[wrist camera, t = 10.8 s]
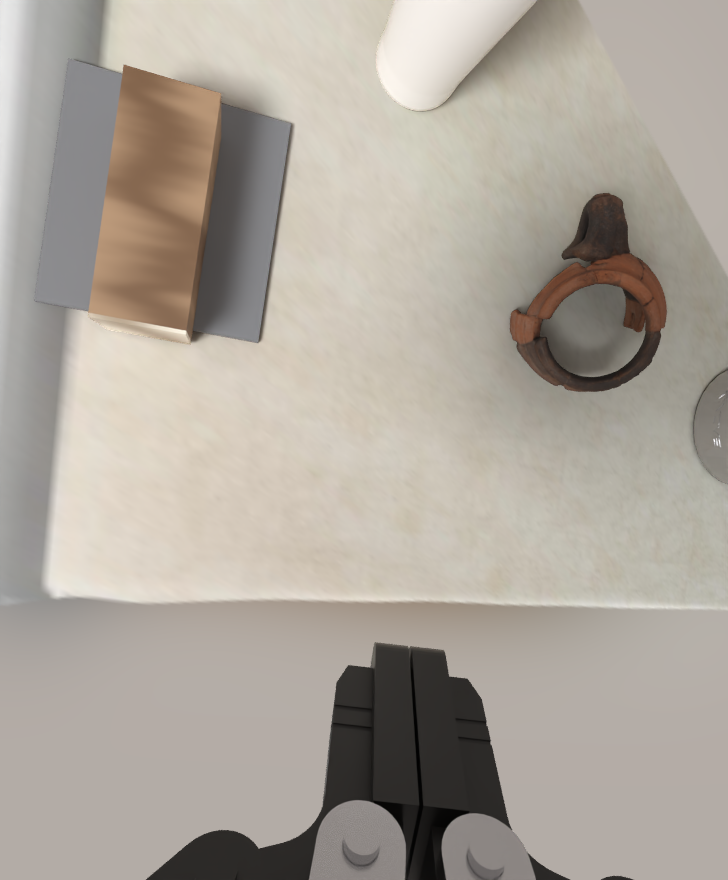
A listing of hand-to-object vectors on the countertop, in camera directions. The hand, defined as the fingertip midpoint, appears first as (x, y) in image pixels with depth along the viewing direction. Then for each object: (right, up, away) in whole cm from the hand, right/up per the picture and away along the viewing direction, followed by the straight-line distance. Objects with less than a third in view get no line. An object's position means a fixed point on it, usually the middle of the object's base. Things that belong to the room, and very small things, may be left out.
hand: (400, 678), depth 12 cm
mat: (-12, +18, +20) cm, 29 cm away
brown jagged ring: (+13, +14, +27) cm, 33 cm away
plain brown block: (-12, +11, +17) cm, 24 cm away
